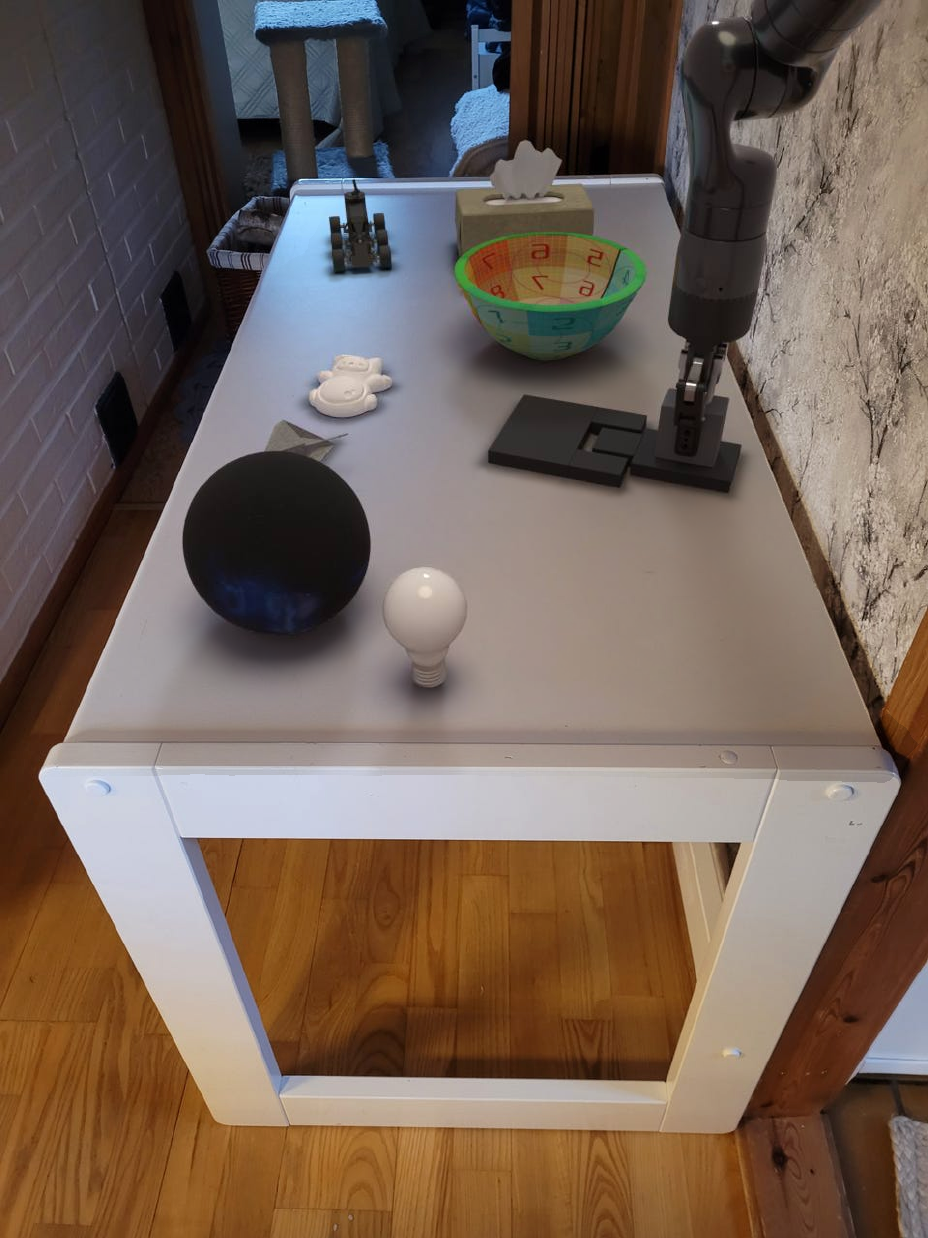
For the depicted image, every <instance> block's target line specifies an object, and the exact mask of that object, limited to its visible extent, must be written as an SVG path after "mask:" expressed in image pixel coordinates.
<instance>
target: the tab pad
mask: <svg viewBox="0 0 928 1238" xmlns="http://www.w3.org/2000/svg"><path fill="white" fill-rule="evenodd" d="M676 390H677V388H671V387H668V388H667V391H666V394H665V396H664V397H663V398H664V399H663V401H662V403H661V407H660V412H659V419H658V427H657V429H655V428H649V427H646V428H645V430H644V432H643V434H637V433H631V432H625V431H620V430H614V429H608V428H602V429H601V431H600V433H599V435H598V436H597V438H596V439H595V442H594V444H593V446H592V448H591V452H596V453H601V454H607V455H612V456H618V457H623V458H628V465H627V468H630V469H629V470H630V471H629V475H630V476H634V477H640V478H644V479H650V480H655V481H660V482H665V483H671V484H676V485H683V486H687V487H693V488H697V489H698V488H699V489H703V490H708V491H714V492H719V493H724V494H730V490H731V487H732V483H733V480H734V477H735V472H736V469H737V466H738V463H739V459H740V455H741V450H742V446H743V445H742V443H735V442H730V441H723V433H724V430H725V429H724V427H725V423H726V418H727V414H728V407H729V403H730V397H728V396H722V395H717V394H716V395H715V394H714V397H713V399H712V401H711V402H710V403H709V404H707V405H706V410H705V415H704V417H705V421H704V423H703V424H702V427H701V432H700V438H699V444H698V450H697V453H696V455H695V456H694V457H688V456H682V455H677V454H676V453H675V452H674V447H675V441H676V434H677V427H678V426H675V425H674V421H673V418H674V415H675V402H676Z"/></svg>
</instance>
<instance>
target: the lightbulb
mask: <svg viewBox="0 0 928 1238" xmlns="http://www.w3.org/2000/svg"><path fill="white" fill-rule="evenodd" d="M381 612H382V619H383V623H384V626H385V628H386V630H387V631H388V633H389V635H390V636H391V637H392V638H393V639H394V640H395V642H397V643H398V644H399V645H400V646H401V647H403V648H404V649H405V651H406V654H407V656H408V658H409V659H410V662H411V664H410V665H411V676H412V680H413V682H414V683H415V684H416V685H418V686H420V687H422V688H435V687H437V686H440V685H441V684H442V683H443V682H444V681H445V680H446V678H447V677H446V676H447V669H446V668H447V667H446V656H447V655H448V653H449V648H450V645H451V644H452V643H453V642H454V641H455V640H456V639H457V638H458V636H459V635H460V634H461V632H462V630H463V628H464V626H465V625H466V620H467V615H468V603H467V599H466V596H465V592H464V590H463V589H462V587H461V585H460V584H459V582H458V581H457V579H455V578H454V577H453V576H452V575H450V574H449V573H448V572H446V571H444V570H442V569H439V568H436V567H431V566H418V567H414V568H413V567H412V568H410V569H408V570H405V571H404V572H402V573H400V574H399V575H397V576H396V577H395V578H394V579H393V580H392V581H391V583H389V585H388V587H387V588H386V591H385V593H384V596H383V598H382V605H381Z"/></svg>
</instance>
